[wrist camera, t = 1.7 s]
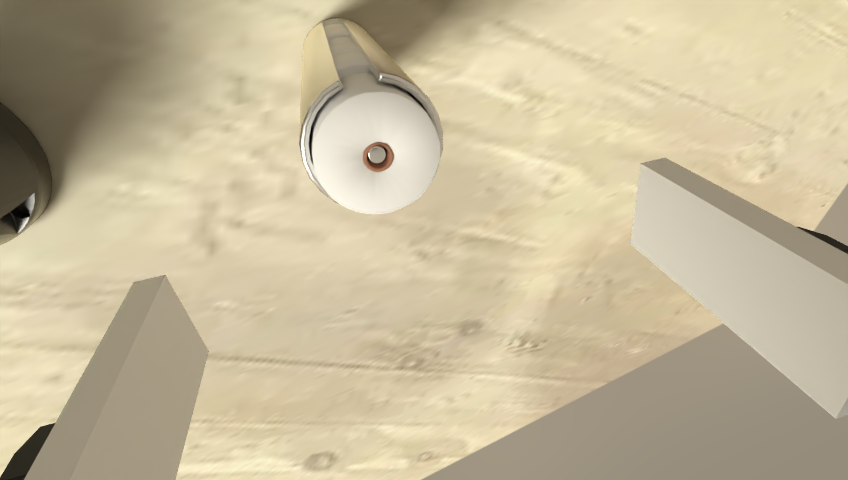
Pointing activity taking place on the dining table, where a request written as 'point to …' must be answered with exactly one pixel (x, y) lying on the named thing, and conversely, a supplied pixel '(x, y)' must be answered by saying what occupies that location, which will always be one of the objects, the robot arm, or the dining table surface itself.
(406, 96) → the white tall cylinder
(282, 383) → the dining table surface
